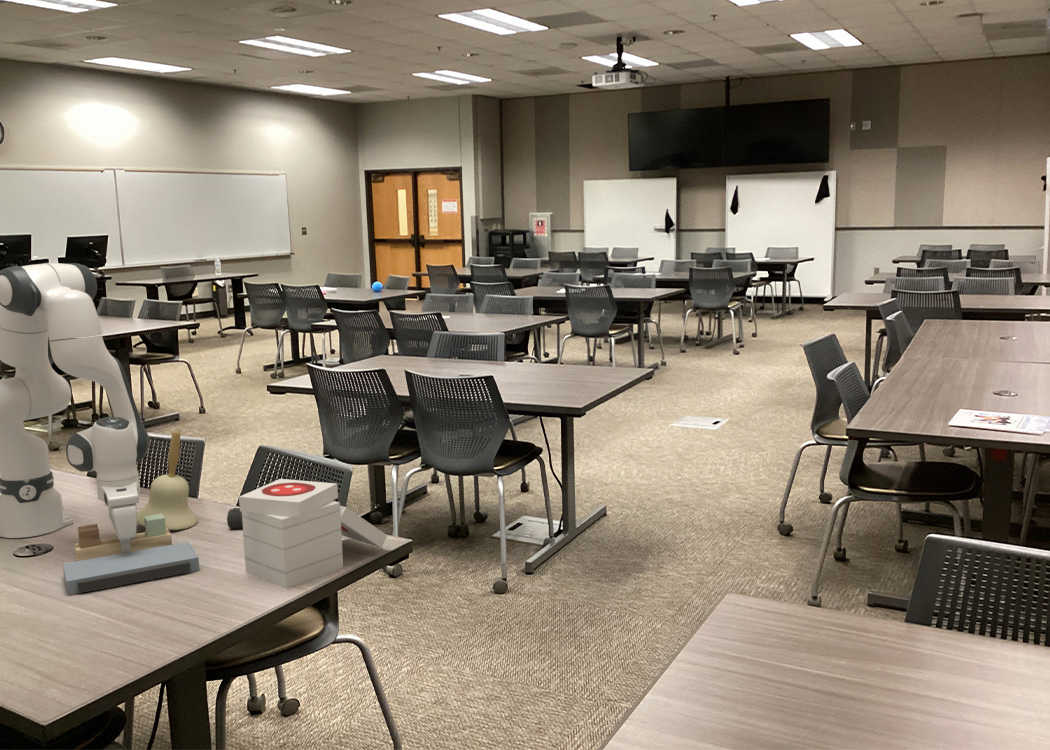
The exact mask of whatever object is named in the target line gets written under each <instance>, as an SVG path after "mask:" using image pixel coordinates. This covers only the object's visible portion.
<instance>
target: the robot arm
mask: <svg viewBox="0 0 1050 750" xmlns="http://www.w3.org/2000/svg"><path fill="white" fill-rule="evenodd" d="M97 288H98V284H97V279H96V277H95V274H94V273H93V271H92V269H90V268H89V267H88V266H86V265H85V264H80V263H75V262H70V263H59V262H43V263H38V264H28V265H23V266H20V265H14V266H9V267H6V268H3V269H1V270H0V361H1V362H2V363H4V364H6V365H8V366H10V367H13V368H15V375H14V376H13V377H8V378H2V379H0V493H1V494H0V538H1V537H2V538H7V539H20V538H30V537H36V536H37V537H38V536H41V535H45V534H49V533H52V532H55V531H58V530H60V529H61V528H63V527H67V526H69V525H72V524H74V520H73V518H71V517H70V516H69V515H67V514H66V513H65V512H64V506H63V505H64V504H63V498H62V493H61V492H60V491H58V490H57V489H56V488H54V486H55V483H54V480H55V479H54V475H53V471H51V464H50V456H49V455H50V454H49V453H50V452H49V447H48V443H47V442H46V441H45V440H44V439H43V438H42V437H40V436H39V435H35V434H33V433H29V432H27V430H26V427H25V425H24V422H25V421H29V420H34V419H38V418H39V419H40V418H45V417H49V416H52V415H55V414H57V413H60V412H62V411H64V410H65V409H67V408H68V406H69V404H70V403H71V399H72V389H71V386H70V384H69V382H68V381H67V380H66V379H65V378H64V377H63V376H62V375H60V374H58V373H57V372H56V371H55V369H53V367H52V365H51V362H50V360H49V348H50V353H51V357H52V361H53V363H54V364H55V366H57V368H58V369H59V370H61V371H62V372H64V373H66V374H68V375H70V376H71V377H74V378H78V379H82V380H83V379H84V380H86V381H92V382H94V383H96V384H98V385H100V386H101V387H102V388H103V389H104V391H105V392H106V395H107V397H108V400H109V402H110V406H111V409H112V412H113V416H106V417H103V418H100V419H99V418H98V419H97V420H96V421H94V423H93V425H92V426H90V427H89V428H87V429H83V430H80V431H78V432H76V433H73V434H72V435H71V436H70V438H69V439H68V441H67V444H66V448H65V453H66V454H65V455H66V459H67V462H68V464H69V465H70V466H71V467H72V468H74V469H75V470H77V471H79V472H81V473H82V472H86V473H88V472H89V473H90V472H94V471H95V472H96V488H97V491H96V492H97V499H98V500H100V501H102V502H103V503H104V506H106V507H108V508H107V509H108V515H109V519H110V521H111V524H112V526H113V528H114V532H115V534H116V537H118V539H119V540H120V544H121V551H122V552H128V551H130V538H134V537H135V536H136V534H137V524H138V523H137V512H138V511H137V507H138V506H137V504H138V503H139V502H140V494H141V487H140V486H141V484H140V473H139V470H138V467H137V463H140V462H141V461H142V460H143V459H144V457H146V455H147V453H148V452H149V449H150V446H151V443H150V442H151V440H150V437H149V433H148V431H147V429H146V428H145V425H144V423H143V422H142V420H141V417H140V414H139V411H138V408H137V406H136V401H135V399H134V398H135V397H134V396H133V392H132V390H131V386H130V384H129V381H128V377H127V375H126V371H125V370H124V367H123V365H122V362H120V360H119V359H118V358H117V357H115V356H113V355H112V354H111V353H110V351H109V350H108V349H107V346H106V344H105V342H104V338H103V333H102V332H103V331H102V327H101V323H100V319H99V315H98V312H97V309H96V306H95V303H94V301H93V300H94V299H95V296H96V294H97V290H98V289H97Z"/></svg>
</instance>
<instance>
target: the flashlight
mask: <svg viewBox="0 0 1050 750" xmlns="http://www.w3.org/2000/svg"><path fill="white" fill-rule="evenodd" d="M226 521H227V526H228V528H230V529H231V528H232V529H233V530H241V529H243V522H242V512H241V511H240V507H234V508H230V509H229V510H228V513H227V516H226Z"/></svg>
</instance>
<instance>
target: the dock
mask: <svg viewBox="0 0 1050 750" xmlns="http://www.w3.org/2000/svg"><path fill="white" fill-rule="evenodd" d="M190 543H191V542H190V541H186V542H185V541H184V542H180V543H175V544H174V543H172V545H167V546H162V547H156V548H150V549H144V550H139V551H133V552H127V553H121V554H115V555H110V556H104V557H98V558H92V559H87V560H81V561H77V560H76V561H71V562H66V563H64V562H63V563H62V569H63V578H64V583H65V589H66V593H67V596H70V595H71V596H72V595H77V594H81V593H87V592H92V591H93V592H94V591H98V590H103V589H108V588H113V587H114V588H115V587H119V586H124V585H125V586H126V585H130V584H134V583H140V582H144V581H145V582H146V581H150V580H156V579H160V578H167V577H171V576H172V577H173V576H176V575H177V576H178V575H181V574H187V573H192V572H197V571H200V559H199V555H198V554H197V553H196V551H195V550H194V548H193V546H192V545H191V544H190Z"/></svg>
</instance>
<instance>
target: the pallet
mask: <svg viewBox="0 0 1050 750" xmlns="http://www.w3.org/2000/svg"><path fill="white" fill-rule="evenodd" d="M167 545H173V542H172V533H171V531H170V530H168V529H166V535H161V536H155V537H149V538H148V537H147V535H146V533H145V531H144V532H139V533H136V536H135V537H134V538H130V551H128V552H133V551H139V550H144V549H150V548H156V547H162V546H167ZM73 547H74V554H75V555H74V556H75V559H76V561H81V560H87V559H93V558H98V557H104V556H110V555H116V554H121V553H127V552H122V551H121V544H120V540H119V539H118V537H117V536H115V537H109V538H102V539H100V546H95V547H89V548H83V549H81V548H80V545H79V542H77V543H74V546H73Z"/></svg>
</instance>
